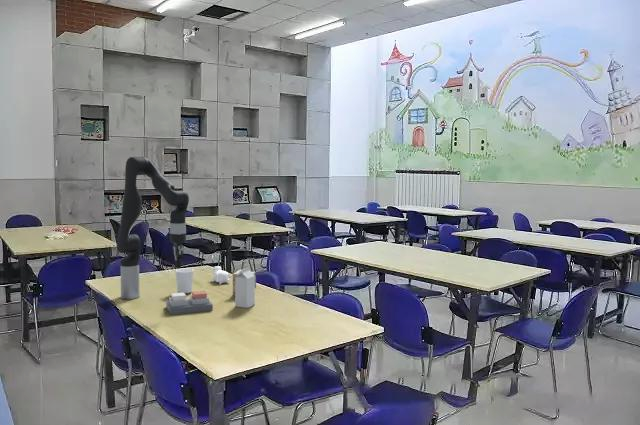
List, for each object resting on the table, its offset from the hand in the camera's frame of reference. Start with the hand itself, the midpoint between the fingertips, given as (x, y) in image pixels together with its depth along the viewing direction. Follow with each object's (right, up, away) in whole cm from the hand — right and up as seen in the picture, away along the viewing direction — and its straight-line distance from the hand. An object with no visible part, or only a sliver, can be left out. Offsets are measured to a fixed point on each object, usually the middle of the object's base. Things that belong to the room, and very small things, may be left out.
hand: (178, 267), depth 252 cm
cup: (-6, -18, +34) cm, 39 cm away
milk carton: (+31, -21, +11) cm, 38 cm away
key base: (+4, -21, +4) cm, 21 cm away
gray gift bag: (+26, -18, +40) cm, 51 cm away
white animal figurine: (+8, -15, +62) cm, 65 cm away
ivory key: (0, -16, +1) cm, 16 cm away
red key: (+9, -16, +5) cm, 19 cm away
